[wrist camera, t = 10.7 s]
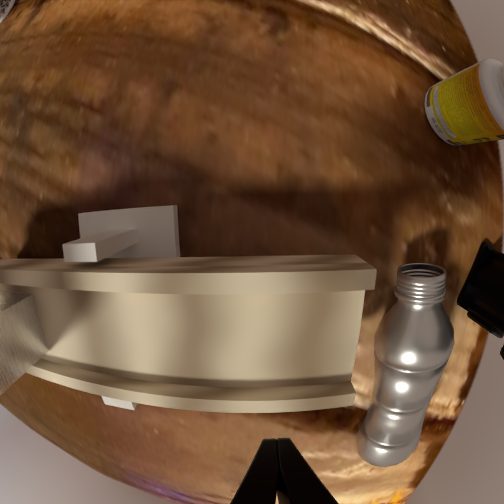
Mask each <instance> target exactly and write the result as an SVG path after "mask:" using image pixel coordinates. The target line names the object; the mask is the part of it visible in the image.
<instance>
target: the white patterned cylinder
mask: <svg viewBox="0 0 504 504" xmlns="http://www.w3.org/2000/svg"><path fill="white" fill-rule="evenodd" d="M14 2H15V0H0V25H1V23H2V22H3V20H4V19H5V18H6V16H7V15H8V13H9V12H10V10H11V8H12V7H13V5H14Z"/></svg>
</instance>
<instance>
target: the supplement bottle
mask: <svg viewBox="0 0 504 504" xmlns="http://www.w3.org/2000/svg"><path fill="white" fill-rule="evenodd" d="M425 112H426V115H427V118H428V121H429V123H430V125H431V127H432V128H433V130H434V131H435V132H436V134H437V135H438V136H439V137H440V138H441V139H442V140H444V141H445V142H447V143H449V144H451V145H456V146H459V145H467V144H473V143H480V142H487V141H494V140H501V139H504V64H502V63H501V62H499V61H497V60H495V59H485V60H483V61H481V62H478V63H476V64H474V65H472V66H470V67H468V68H466V69H464V70H462V71H460V72H458V73H456V74H454V75H452V76H450V77H448V78H446V79H444V80H442V81H441V82H439V83H437V84H435V85H433V86H432V87H430V89H429V90H428V91H427V93H426V96H425Z"/></svg>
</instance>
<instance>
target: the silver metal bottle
mask: <svg viewBox="0 0 504 504" xmlns="http://www.w3.org/2000/svg"><path fill="white" fill-rule="evenodd" d="M445 284H446V270H445V269H444V268H443V267H441V266H438V265H434V264H429V263H409V264H404V265H401V266H399V267H398V269H397V281H396V286H395V296H396V297H397V298H398V301H397V302H396V303H395V304H394V305H393V306H392V308H391V309H390V310H389V311H388V312H387V314H386V315H385V316H384V318H383V319H382V320H381V322H380V324H379V326H378V329H377V331H376V333H375V342H374V355H375V379H374V388H373V395H372V400H371V403H370V406H369V409H368V412H367V415H366V417H365V419H364V420H363V422H362V424H361V426H360V429H359V431H358V433H357V438H356V441H357V451H358V454H359V455H360V457H361V458H362V459H363V460H364V461H366V462H367V463H369V464H371V465H374V466H379V467H387V466H393V465H396V464H399V463H401V462H403V461H404V460H406V459H407V458H408V457H409V456H410V454H411V453H412V452H413V451H414V450H415V449H416V447H417V445H418V443H419V439H420V435H421V430H422V424H423V421H424V417H425V414H426V410H427V407H428V404H429V402H430V399H431V397H432V395H433V392H434V390H435V387H436V385H437V382H438V380H439V378H440V376H441V374H442V372H443V370H444V368H445V366H446V364H447V361H448V359H449V357H450V354H451V351H452V349H453V345H454V329H453V326H452V323H451V321H450V318H449V316H448V314H447V312H446V311H445V309H444V307H443V305H442V304H441V301H443V300H444V299H445V297H446V288H445Z"/></svg>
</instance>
